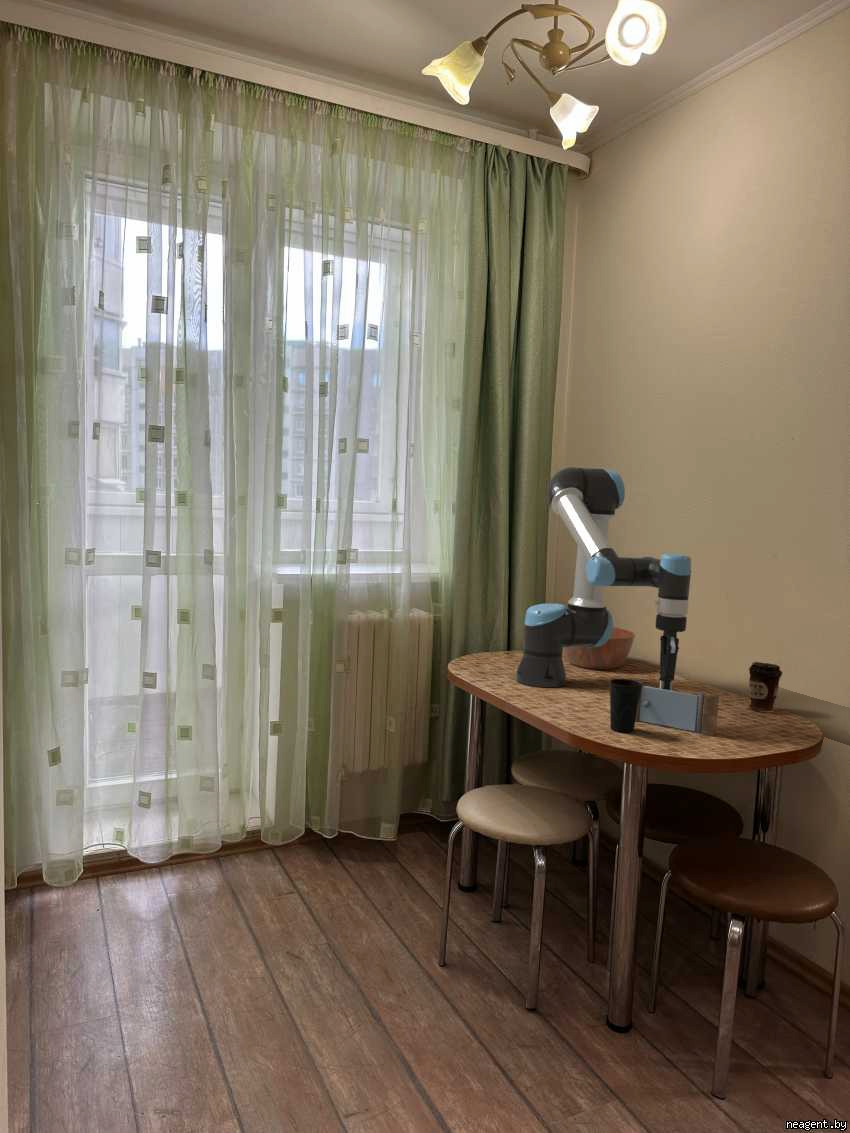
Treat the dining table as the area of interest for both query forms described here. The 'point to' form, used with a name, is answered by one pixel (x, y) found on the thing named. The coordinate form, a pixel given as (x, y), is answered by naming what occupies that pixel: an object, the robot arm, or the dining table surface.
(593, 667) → the bowl
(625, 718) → the cup
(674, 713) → the door
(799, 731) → the dining table surface
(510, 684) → the dining table surface
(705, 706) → the door frame
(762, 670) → the coffee cup
